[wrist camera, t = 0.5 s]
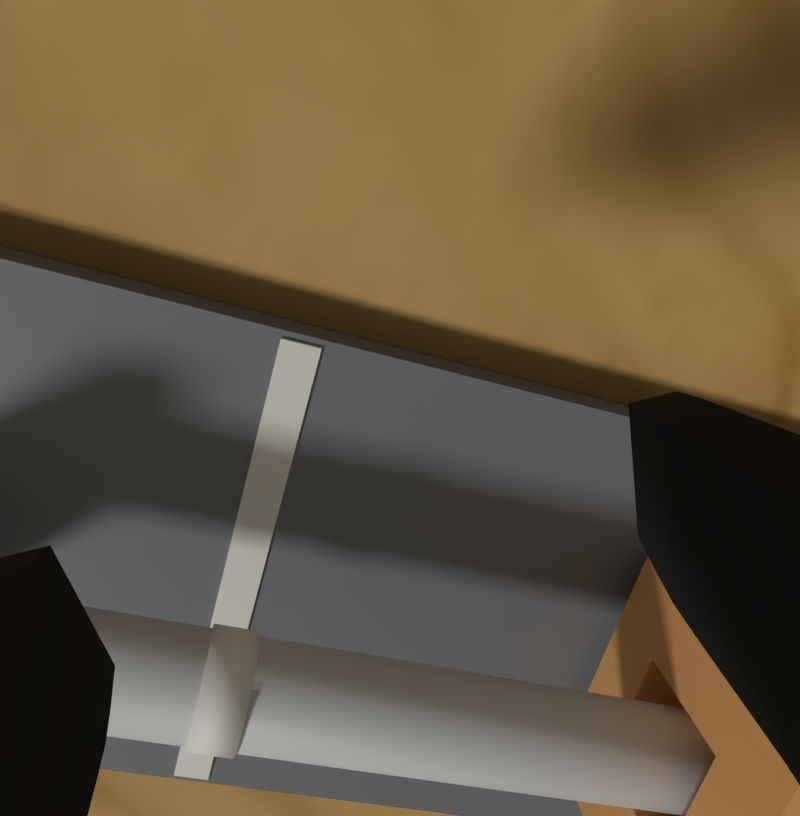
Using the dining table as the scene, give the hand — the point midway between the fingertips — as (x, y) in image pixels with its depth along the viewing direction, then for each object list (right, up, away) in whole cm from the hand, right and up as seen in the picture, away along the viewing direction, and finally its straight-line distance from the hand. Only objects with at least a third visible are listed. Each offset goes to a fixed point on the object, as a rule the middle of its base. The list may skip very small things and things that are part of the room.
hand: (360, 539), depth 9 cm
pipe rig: (+3, -4, +13) cm, 14 cm away
